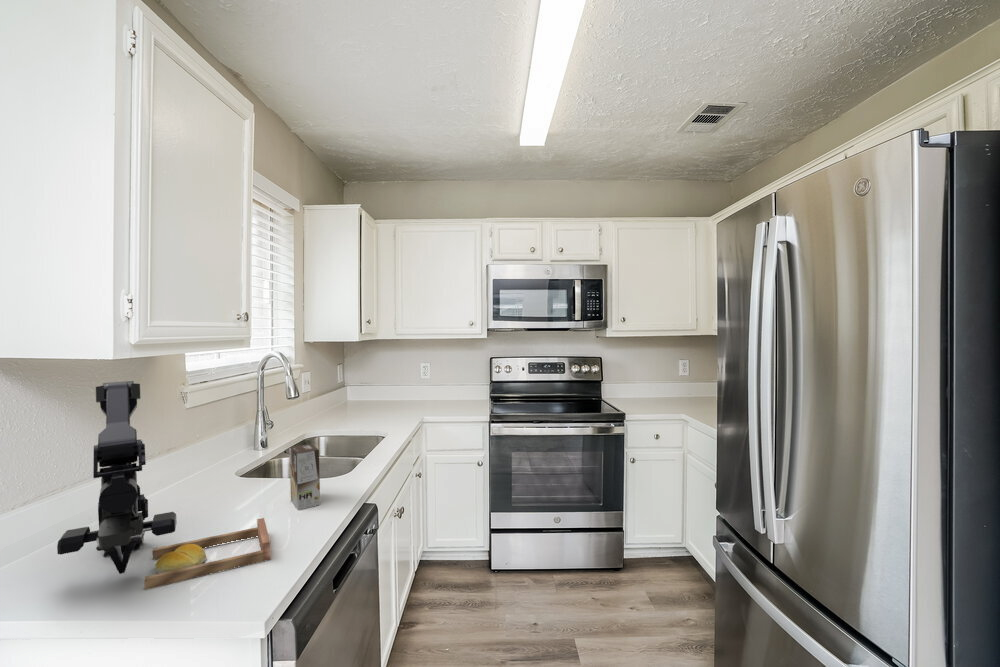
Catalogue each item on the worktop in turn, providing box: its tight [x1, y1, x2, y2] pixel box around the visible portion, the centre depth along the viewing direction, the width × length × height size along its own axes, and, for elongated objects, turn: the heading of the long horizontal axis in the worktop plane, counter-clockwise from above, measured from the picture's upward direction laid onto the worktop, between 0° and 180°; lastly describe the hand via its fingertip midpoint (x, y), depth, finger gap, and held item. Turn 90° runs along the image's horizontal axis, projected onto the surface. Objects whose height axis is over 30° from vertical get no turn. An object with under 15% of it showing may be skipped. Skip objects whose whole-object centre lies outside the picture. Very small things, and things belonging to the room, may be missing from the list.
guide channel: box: [144, 517, 271, 590], centre depth 107 cm, size 22×15×4 cm
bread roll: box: [154, 544, 207, 574], centre depth 104 cm, size 8×9×4 cm
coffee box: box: [288, 443, 321, 511], centre depth 140 cm, size 9×6×16 cm
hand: (122, 572), depth 99 cm, fingers closed
